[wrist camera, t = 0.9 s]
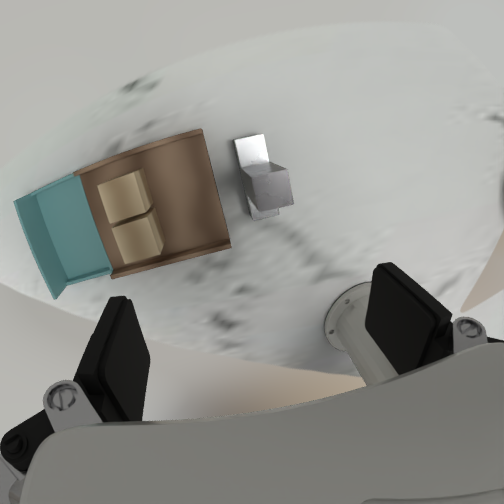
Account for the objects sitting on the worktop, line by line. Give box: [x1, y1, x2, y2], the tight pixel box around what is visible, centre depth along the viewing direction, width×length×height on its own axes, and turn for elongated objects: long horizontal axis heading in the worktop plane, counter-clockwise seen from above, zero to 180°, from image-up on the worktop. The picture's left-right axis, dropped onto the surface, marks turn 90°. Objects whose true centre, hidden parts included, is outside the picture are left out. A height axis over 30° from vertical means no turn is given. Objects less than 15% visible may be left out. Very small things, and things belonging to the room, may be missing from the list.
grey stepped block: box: [233, 134, 294, 221], centre depth 28 cm, size 3×9×10 cm, turn 12°
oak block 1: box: [98, 168, 153, 224], centre depth 27 cm, size 4×4×4 cm
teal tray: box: [13, 173, 113, 300], centre depth 29 cm, size 8×13×5 cm, turn 12°
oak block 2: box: [112, 207, 166, 264], centre depth 29 cm, size 4×4×4 cm
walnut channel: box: [73, 129, 232, 279], centre depth 30 cm, size 14×13×4 cm
